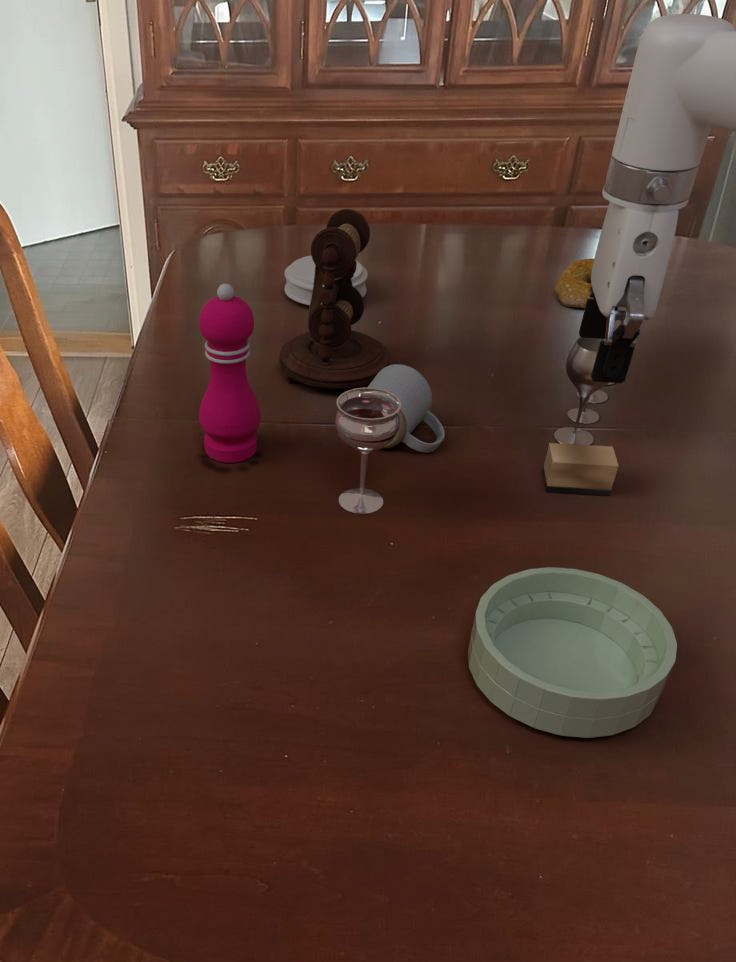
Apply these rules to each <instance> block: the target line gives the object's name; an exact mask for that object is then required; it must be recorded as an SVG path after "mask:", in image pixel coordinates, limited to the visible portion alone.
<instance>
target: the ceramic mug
mask: <svg viewBox="0 0 736 962" xmlns="http://www.w3.org/2000/svg"><path fill="white" fill-rule="evenodd" d="M366 388H377V389H382V390H385V391H388V392H391V393H393V394H394V395H395V396H397V397H398V398H399V400H400V401H401V408H400V410H399V411H398V413H399V417H400V426H399V431H398V432H397V434H396V436H395V437H394V439H393V440H392V441H391V442H390V443H389V444H387V445H386V446H384V447H383V448H382V449H390V448H393V447H396V446H397V445H399V444H400V443H403V444H405V446H407V447H408V448H410V449H412V450H414V451H416V452H418V453H423V454H427V453H432V452H434V451H435V450H436V451H437V449H438V448H439V447H440V445H441V444H442V443H443V441H444V439H445V436H446V433H445V429H444V426H443V425H442V423H441V422H440V420H439V419H438V418H437V416H436V415H435V414H434V413H432V412H431V411H430V410H431V407H432V404H433V394H432V390H431V387H430V385H429V383H428V381H427V379H425V376H423V375H422V374H421V373H420V372H419V371H418V370H416V369H415V368H414V367H411V366H409V365H405V364H400V363H399V364H397V363H396V364H395V363H394V364H390V365H389V366H387V367H385V368H383V369H382V370H381V371H380V372H379V373H378V374H377V375H376V377H375V378H374V379H373V381H372V382H371V383H369V384H368V386H367V387H366ZM421 422H424V424H426V425H427V426H428V427H429V428H430V429H431V430H432V432H433V434H434V435H435V438H436V440H435V441H434V442H431V443H430V442H425V441H422V440H420V439H419V438H417V437H415V436H414V435H412V434H411V433H412V432H413V431H414V430H415V428H416V427H417V426H418V425H419V424H421Z"/></svg>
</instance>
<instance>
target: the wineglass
mask: <svg viewBox="0 0 736 962" xmlns="http://www.w3.org/2000/svg"><path fill="white" fill-rule="evenodd" d="M335 405H336V407H337V409H338V410H337V411H336V413H335V417H334V425H335V426H334V427H335V431H336V434H337V435H338V437H339V439H340V440H341V441H342V442H343V443H344V444H345V445H346V446H348V447H349V448H350V449H352V450H355V451H357V452H359V453H360V475H359V476H360V477H359V479H360V480H359V481H360V482H359V487H355V488H351V489H346V490H344V491H343V492H341V494H340V495H339V497H338V504H339V506H341V507H342V508H343V509H344V510H345V511H347V512H350V513H354V514H360V515H361V514H362V515H365V514H373V513H375V512H378V510H380V509H381V508H382V507H383V505H384V498H383V496H382V495H381V494H380V493H378V492H377V491H375V490H373V489H369V488H365V484H366V483H365V482H366V474H367V468H368V460H369V454H371V453H373V452H377V451H379V450H381V449H384V448H383V447H384V446H386V445H387V444H389V443H390V442H391V441H392V440H393V439H394V437H395V436H396V434H397V432H398V431H399V426H400V417H399V413H398V411H399V410H400V408H401V401H400V400H399V398H398V397H397V396H395V395H394V394H393V393H391V392H388V391H385V390H382V389H377V388H367V387H363V388H356V389H355V388H352V389H349V390H345V391H344V392H342V393H341V394H340V395H339V396H338V397H337V399H336V404H335Z"/></svg>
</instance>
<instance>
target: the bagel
mask: <svg viewBox="0 0 736 962" xmlns="http://www.w3.org/2000/svg"><path fill="white" fill-rule="evenodd" d="M593 262H594V258H584V259H579V260H575V261H573V262H571V263H570V264H569V265H568V267H566V269H564V270H563V271H562V273H561V275H560V276H559V279H558V281H557V283H556V285H555V287H554V293H555V294H556V295H557V296H558V299H559V300H560V302H561V305H563V306H565V307H566V308H578V309H585V306H586V302H587V299H594V298H589V292H590V288H591V285H592V284H591V273H592V267H593Z"/></svg>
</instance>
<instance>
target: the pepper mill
mask: <svg viewBox="0 0 736 962" xmlns="http://www.w3.org/2000/svg"><path fill="white" fill-rule="evenodd" d="M216 294H217V296H215V297H213V298H210V299H209V300H208V301H207V302H206V303H205V304H204V305H203V307H202V308H201V310H200V312H199V318H198V327H199V331H200V334H201V335H202V337H203V338H204V339H205V342H204V349H205V351H204V355H205V358H207V359H208V361H209V367H210V374H209V375H210V378H209V381H208V386H207V388H206V391H205V393H204V395H203V397H202V400H201V402H200V406H199V411H198V423H199V427H200V428H201V429H202V430H203V431H204V433H205V434H204V437H203V444H204V452H205V454H206V455H207V456H208V457H209V458H210V459H211V460H214V461H216V462H220V463H224V464H225V463H226V464H227V463H228V464H233V463H241V462H244V461H246V460H249V459H250V458H252V457H254V455H255V453H256V452H257V450H258V439H257V438H258V435H257V433H256V431H257V429H259V426H260V424H261V416H262V415H261V408H260V405H259V402H258V399H257V397H256V395H255V393H254V391H253V389H252V387H251V384H250V382H249V380H248V375H247V366H246V364H247V359H248V358H249V357H250V355H251V349H250V347H251V343H250V340H249V338H251V337H250V336H251V335H252V333H253V331H254V329H255V318H254V313H253V309H252V308H251V306H250V305H249V304H248V302H246V301H245V300H244V299H242V298H240V297H238V296H234V294H235V290H234V288H233V286H232V285H231V284H229V283H222V284H220V285H219V286H218V288H217V291H216Z"/></svg>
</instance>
